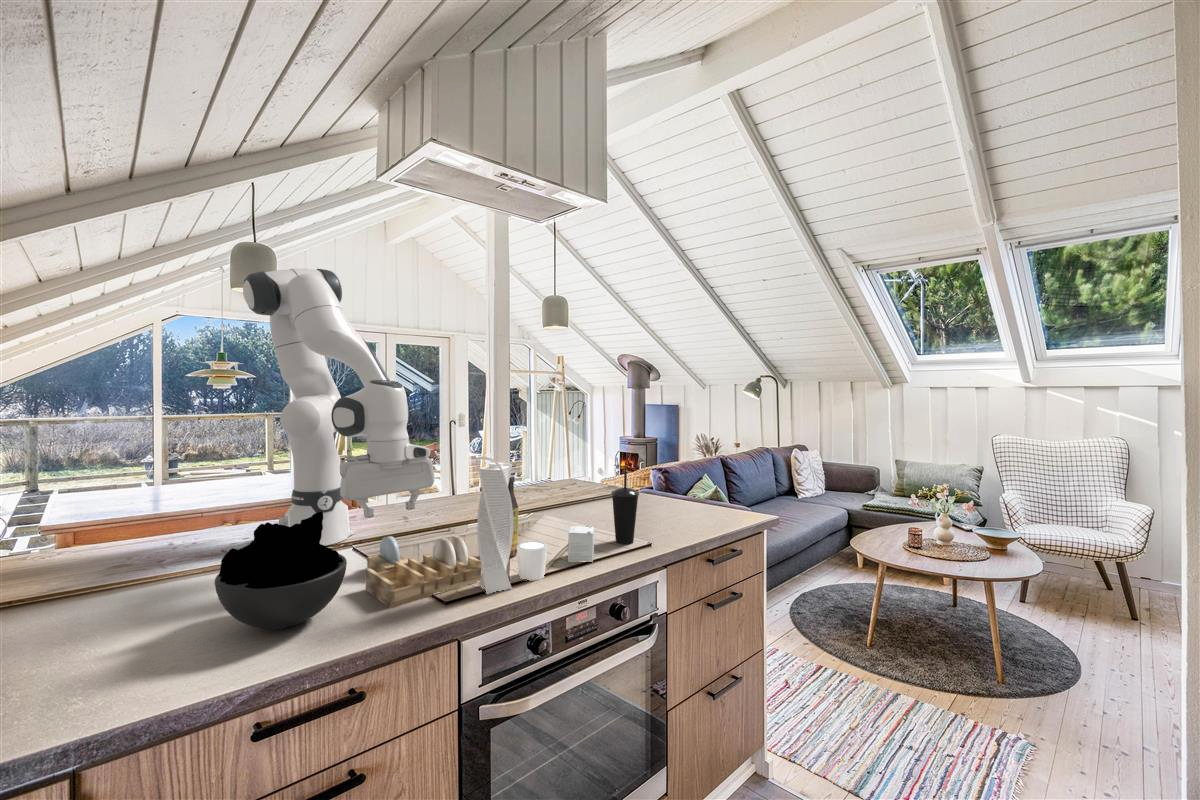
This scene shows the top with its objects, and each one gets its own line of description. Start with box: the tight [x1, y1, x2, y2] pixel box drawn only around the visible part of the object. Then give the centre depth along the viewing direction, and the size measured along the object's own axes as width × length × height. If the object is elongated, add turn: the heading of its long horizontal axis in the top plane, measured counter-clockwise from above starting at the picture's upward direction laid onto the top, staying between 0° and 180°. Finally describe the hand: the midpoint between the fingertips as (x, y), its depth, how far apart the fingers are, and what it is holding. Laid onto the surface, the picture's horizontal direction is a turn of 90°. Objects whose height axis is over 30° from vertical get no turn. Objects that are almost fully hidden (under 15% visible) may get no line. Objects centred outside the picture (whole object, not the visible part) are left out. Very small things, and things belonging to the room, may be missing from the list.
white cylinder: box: [516, 540, 548, 582], centre depth 119 cm, size 7×7×7 cm
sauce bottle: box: [508, 474, 519, 558], centre depth 133 cm, size 7×6×20 cm
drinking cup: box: [610, 468, 640, 545], centre depth 145 cm, size 8×8×20 cm
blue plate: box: [379, 535, 401, 565], centre depth 120 cm, size 8×1×8 cm, turn 45°
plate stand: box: [366, 553, 408, 573], centre depth 120 cm, size 11×6×3 cm, turn 45°
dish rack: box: [365, 535, 482, 609], centre depth 113 cm, size 12×20×9 cm, turn 135°
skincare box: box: [567, 525, 595, 563], centre depth 131 cm, size 6×6×7 cm
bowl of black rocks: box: [214, 511, 348, 630], centre depth 94 cm, size 20×20×19 cm
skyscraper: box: [475, 456, 514, 595], centre depth 112 cm, size 8×8×28 cm
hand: (390, 513), depth 120 cm, fingers open, 8 cm apart
